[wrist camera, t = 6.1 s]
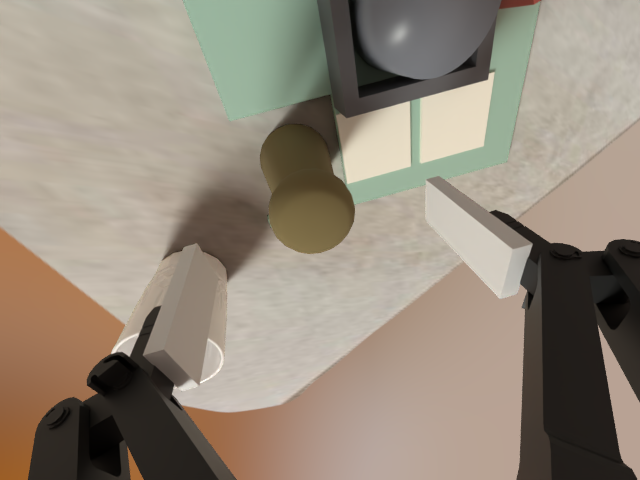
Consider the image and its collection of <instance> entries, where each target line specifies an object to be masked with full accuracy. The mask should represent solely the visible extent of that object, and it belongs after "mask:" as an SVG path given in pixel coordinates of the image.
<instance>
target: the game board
mask: <svg viewBox="0 0 640 480" xmlns="http://www.w3.org/2000/svg"><path fill="white" fill-rule="evenodd" d="M183 3H184V5H185V8H186V10H187V13H188V16H189V18H190V21H191V23H192V26H193V28H194V31H195V34H196V36H197V39H198V41H199V44H200V46H201V49H202V52H203V54H204V57H205V59H206V62H207V65H208V67H209V70H210V72H211V75H212V77H213V80H214V83H215V85H216V88H217V90H218V93H219V95H220V98H221V101H222V103H223V106H224V108H225V111H226V114H227V116H228V119H229V121H233V120H237V119H240V118H244V117H248V116H252V115H255V114H259V113H263V112H266V111H270V110H274V109H277V108H281V107H285V106H288V105H292V104H296V103H300V102H303V101H307V100H311V99H314V98H318V97H322V96H325V95H329V94H330V95H331V101H332V107H333V113H334V119H335V125H336V131H337V137H338V143H339V149H340V155H341V161H342V167H343V172H344V178H345V184H346V187H347V188H348V190H349V191H350V193H351V194H352V198H353V202H354V205H355V204H359V203H362V202H366V201H369V200H373V199H377V198H380V197H384V196H387V195H391V194H395V193H398V192H402V191H405V190H409V189H412V188H416V187H420V186H423V185H426V179H429V178H433V177H436V176H440V177H441V178H443V179H444V180H445V179H448V178H452V177H455V176H459V175H462V174H466V173H470V172H473V171H477V170H480V169H484V168H487V167H491V166H495V165H498V164H502V163H505V162H507V160H508V155H509V150H510V145H511V140H512V136H513V131H514V126H515V121H516V116H517V112H518V107H519V102H520V97H521V92H522V88H523V83H524V78H525V73H526V68H527V64H528V59H529V54H530V49H531V44H532V40H533V35H534V30H535V25H536V20H537V16H538V11H539V6H540V1H539V2H538V3H536V4H534V5H527V6H520V7H512V8H504V9H499V10H498V13H497V15H496V18H495V20H494V22H493V24H492V26H491V28H490V30H489V32H488V33H487V35H486V37H485V38H484V40H483V41H482V43H481V44H480V46H479V47H478V48H477V49H476V51H475V52H474V53H473V54H472V55H471V56H470V57H469V58H468V59H467V60H466V61H465V62H464V63H462V64H461V65H460V66H459V67H457V68H456V69H454V70H453V71H451V72H449V73H447V74H445V75H443V76H440V77H437V78H433V79H422V80H421V79H414V78H410V77H406V76H402V75H398V74H393V73H389V72H385V71H382V70H378V69H376V68H374V67H372V66H370V65H369V64H367V63H366V62H365V61H364V60H363V59H362V58H361V57H360V55H359V54H358V53H357V51H356V49H355V48H354V46H353V40H352V31H351V22H350V13H349V4H348V0H183ZM267 217H268V222H269V224H270V221H269V215H267ZM270 227H271V225H270ZM271 228H272V227H271Z"/></svg>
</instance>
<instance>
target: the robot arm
mask: <svg viewBox="0 0 640 480" xmlns="http://www.w3.org/2000/svg"><path fill="white" fill-rule="evenodd" d="M425 221H426V222H427V223H428V224H429V225H430V226H431V227H432V228H433V229H434V230H435V231H436V232H437V233H438V234H439V235H440V236H441V237H442V239H443V240H444V241H445V242H446V243H447V244H448V245H449V246H450V247H451V248H452V249H453V250H454V251H455V252H456V253H457V254H458V255H459V256H460V257H461V259H462V260H463V261H464V262H465V263H466V264H467V265H468V266H469V267H470V268H471V269H472V270H473V271H474V272H475V273H476V274H477V275H478V276H479V277H480V279H482V281H483V282H484V283H485V284H486V285H487V286H488V287H489V288H490V289H491V290H492V291H493V292H494V293H495V294H496V295H497V296H498V297H499V298H500V299H502V298H506V297H509V296H512V295H516V294H517V293H518V290H519V287H520V284H521V285H522V286H523V287H524V288H525V289H527V294H526V296H525V299H524V302H523V305H522V308H524V309H525V328H524V358H523V386H522V416H521V444H520V445H521V446H520V464H519V470H518V475H517V480H637V478H636V476H635V474H634V472H633V470H632V469H631V468H629V467H628V466H627V465H625V464H624V463H623V461H622V459H621V456H620V452H619V446H618V440H617V434H616V429H615V423H614V417H613V411H612V406H611V400H610V394H609V388H608V382H607V376H606V371H605V365H604V359H603V354H602V348H601V342H600V336H599V331H598V325H599V328H600V329H601V331H602V333H603V335H604V337H605V339H606V340H607V342H608V344H609V346H610V348H611V350H612V352H613V353H614V355H615V357H616V359H617V361H618V363H619V365H620V366H621V368H622V370H623V372H624V374H625V376H626V378H627V380H628V381H629V383H630V385H631V387H632V389H633V391H634V392H635V394H636V396H637V398H638V400H639V402H640V242H638V241H634V240H625V239H621V240H614V241H611V242H609V244H608V245H607V247H606V249H605V251H590V252H582V251H581V250H579V249H578V248H576V247H573V246H571V245H567V244H563V243H549V242H548V241H546V240H545V239H543V238H542V237H540V236H539V235H537V234H536V233H534V232H533V231H532V230H530V229H529V228H527V227H526V226H525V227H524V226H523V225H522V224H521V223H520V222H517V221H516V220H515V219H514V218H512V217H511V216H509V215H508V214H505V213H502V212H500V211H497V210H495V211H491V212H488V211H487V210H485V209H484V208H483V207H481V206H480V205H478V204H477V203H476V202H474V201H473V200H472V199H470V198H469V197H467V196H466V195H465V194H463V193H462V192H460V191H459V190H458V189H456V188H455V187H454V186H452V185H451V184H449V183H448V182H447V181H445V180H444V179H443V178H441V177H440V176H436V177H433V178H429V179H426V194H425ZM217 284H218V277H217V275H216V274H215V272H214V270H213V269H212V267H211V265H210V264H209V262H208V260H207V259H206V257H205V255H204V254H203V252H202V250H201V249H200V247H199V245H198V244H197V243H196V244H193V245H189V246H185V247H183V250H182V253H181V255H180V258H179V261H178V263H177V266H176V269H175V271H174V274H173V277H172V279H171V282H170V284H169V287H168V290H167V292H166V295H165V298H164V300H163V303H162V305H161V306H157V307H154V308H153V309H152V311H151V312H150V313H149V314H148V316H147V317H146V319H145V321H144V324H143V326H142V329H141V331H140V333H139V337H138V338H137V340H136V343H135V345H134V347H133V350H132V352H131V355H130V357H129V356H128V355H126V354H125V353H123V352H116V353H113V354H110V355H108V356H107V357H105V358H104V359H102V360H101V361H100V362H99V363H98V364H97V365H96V366H95V367H94V368H93V370H92V371H91V372H90V373H89V376H88V378H87V386H89V387H90V388H92V389H93V390H95V391H96V392H97V393H98V394H96V395H94V396H92V397H91V398H89V399H87V400H85V401H84V402H82V401H80V400H79V399H77V398H74V397H72V398H68V399H65V400H63V401H61V402H59V403H58V404H57V405H55V406H54V407H53V408H51V409H50V410H49V411H48V412H47V413H46V415H45V416H44V417H43V418H42V420H41V421H40V423H39V424H38V427H37V430H36V433H35V439H34V446H33V452H32V458H31V464H30V470H29V476H28V480H131V479H130V470H129V460H128V450H127V446H128V448H129V450H130V452H131V454H132V456H133V458H134V460H135V463H136V465H137V467H138V469H139V471H140V473H141V475H142V477H143V479H144V480H237V479H236V478H235V477H234V476H233V474H232V473H231V472H230V470H229V469H228V467H227V466H226V465H225V464H224V462H223V461H222V460H221V458H220V457H219V456H218V454H217V453H216V451H215V450H214V449H213V447H212V446H211V445H210V443H209V442H208V441H207V439H206V438H205V437H204V435H203V434H202V433H201V431H200V430H199V429H198V427H197V426H196V425H195V423H194V422H193V421H192V419H191V418H190V417H189V415H188V414H187V413H186V411H185V410H184V408H183V407H182V406H181V404H180V403H179V402H178V400H177V399H176V398H175V397H174V396H173V395H172V391H173V387H174V385H175V386H176V387H177V388H178V389H179V390H180V391H185V390H188V389H191V388H195V387H198V386H199V385H200V380H201V374H202V368H203V363H204V357H205V351H206V346H207V340H208V334H209V329H210V323H211V317H212V312H213V306H214V300H215V295H216V289H217Z"/></svg>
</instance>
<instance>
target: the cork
mask: <svg viewBox="0 0 640 480" xmlns="http://www.w3.org/2000/svg"><path fill="white" fill-rule="evenodd" d="M260 162H261V168H262V170H263V173H264V175H265V178H266V180H267V183H268V185H269V188H270V190H271V192H272V196H271V199H270V203H269V221H270V225H271V227H272V229H273V231H274V233H275V235H276V237H277V238H278V239H279V240H280V241H281V242H282V243H283V244H284V245H285V246H287V247H289V248H291V249H293V250H295V251H297V252H301V253H307V254H314V253H321V252H324V251H327V250H330V249H332V248H333V247H335V246H336V245H338V244H339V243H341V241H342V240H343V239H344V238H345V237H346V236H347V234H348V233H349V231H350V229H351V227H352V224H353V222H354V214H355V206H354V202H353V198H352V194H351V193H350V191H349V190H348V188H347V187H346V185H345V184H344V183H343V181H342V180H341V179H339V178H338V177H336V176H335V175H334V173H333V169H332V165H331V160H330V156H329V152H328V148H327V145H326V142H325V141H324V139H323V138H322V137H321V135H320V134H319V133H318V132H316V131H315V130H314V129H312V128H311V127H308V126H305V125H302V124H288V125H285V126H282V127H280V128H277V129H276V130H275V131H273V132H272V133H271V134H270V135H269V136H268V137H267V139H266V140H265V142H264V144H263V145H262V149H261V154H260Z"/></svg>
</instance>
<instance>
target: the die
mask: <svg viewBox="0 0 640 480" xmlns="http://www.w3.org/2000/svg"><path fill="white" fill-rule="evenodd" d="M539 1H541V0H502V1H501V4H500V7H499V9H504V8H512V7H520V6H527V5H534V4H536V3H538V2H539Z"/></svg>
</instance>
